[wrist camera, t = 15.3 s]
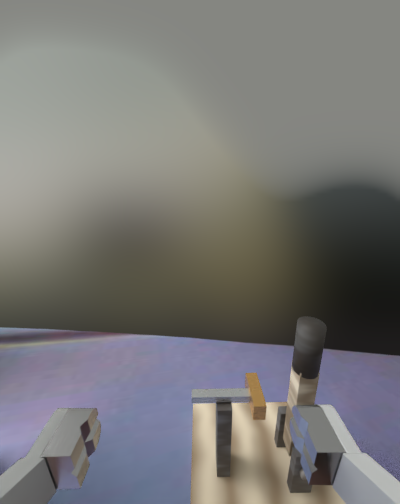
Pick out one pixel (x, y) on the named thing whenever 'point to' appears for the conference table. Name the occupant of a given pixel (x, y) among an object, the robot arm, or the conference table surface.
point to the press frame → (248, 459)
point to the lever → (304, 369)
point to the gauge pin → (236, 396)
